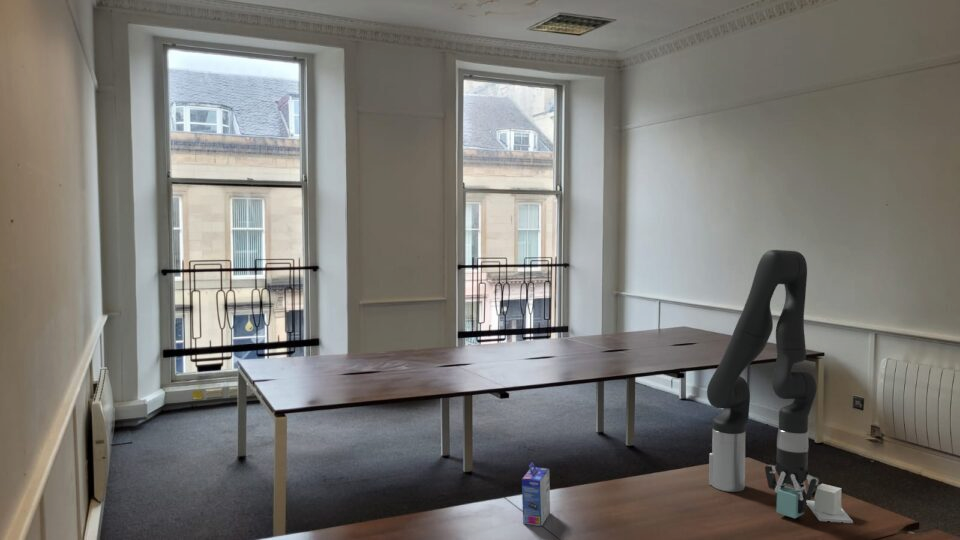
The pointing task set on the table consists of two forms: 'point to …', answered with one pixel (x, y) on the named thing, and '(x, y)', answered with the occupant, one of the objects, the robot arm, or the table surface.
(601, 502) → the table surface
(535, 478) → the ink cartridge box
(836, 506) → the white block
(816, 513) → the external hard drive
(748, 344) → the robot arm
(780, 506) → the teal block
